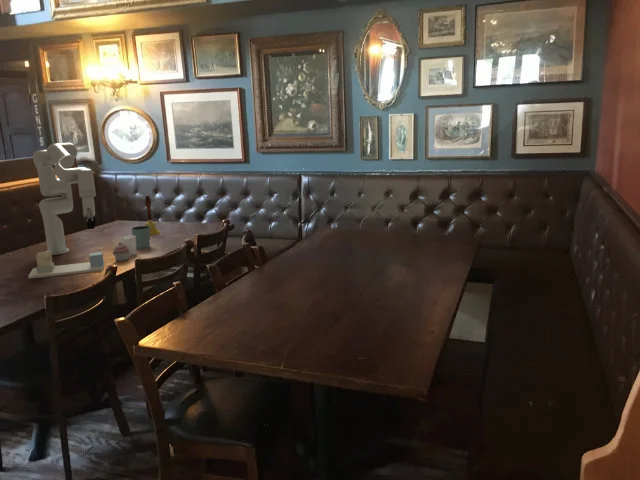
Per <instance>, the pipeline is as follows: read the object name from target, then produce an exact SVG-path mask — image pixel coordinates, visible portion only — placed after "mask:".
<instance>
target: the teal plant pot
mask: <svg viewBox="0 0 640 480" xmlns="http://www.w3.org/2000/svg"><path fill="white" fill-rule="evenodd" d="M131 233H132V235H133V236H136V250H144V249H149V248H150V247H151V241H150V240H151V238H150V237H151V235H150V227H149V226H145V225H137V226H133V227H131ZM149 235H150V236H149Z"/></svg>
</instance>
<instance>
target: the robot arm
mask: <svg viewBox="0 0 640 480" xmlns="http://www.w3.org/2000/svg"><path fill="white" fill-rule="evenodd" d="M77 155H78V149H77V147H76V145H74V143H71V142H61V143H59V142H57V143H52V144H49V146H48V147H46V149H41V150H40V149H39V150H37V151H34V152H33V155H32V156H33V157H32V158H33V159H32V160H33V163H34V164H33V165H34V166H35V168H36V170H37V176H38V181H39V183H38V184H39V190H40V193H41V195H42V196H44V197H49V198H44V199H42V200H40V201H39V204H38V206H39V210H40V214H41V217H42V222H43V227H44V234H45V241H46V246H47V250H46V251H45V252H48V251H51V255H52V256H57V255H63V254H67V253H69V252H70V248H68V247H66V240H65V232H64V224H63V221H62V219H61V218H60V217H59V216H58V215H60V214H68V213H70V212H72V211H73V210H74V201H73V191H72V185H71V184H77V185H78V193H79V198H81V204H82V213H83V217H84V218H86V225H87V226H86V227H87V229H88V230H95V226H96V225H97V224H96V223H97V222H96V216H95V215H96V207H95V199H94V197H96V196H97V193H96V185H95V177H94V171H93V169H91V168H87V167H73V166H74V163H75V158H77ZM53 166H54V168H53ZM56 177H57V178H56ZM52 196H53V197H52ZM57 196H58V197H57Z"/></svg>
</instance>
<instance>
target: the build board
mask: <svg viewBox="0 0 640 480" xmlns="http://www.w3.org/2000/svg"><path fill="white" fill-rule="evenodd" d="M52 262H53V261H52ZM104 267H105V263H104V264H103V266H97V267H91V266H90V261H89V262H78V263H70V264H62V265H61V264H60V265H55V262H53V263H52V265H51V266H43V267H38V265H37V266H36V267H33V268H32V270H31V271H30V273H29V274H28V277H27V279H36V278H48V277H54V276H55V277H56V276H66V275H73V274H83V273H92V272H101V271H102V272H103V271H104Z"/></svg>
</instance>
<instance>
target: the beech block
mask: <svg viewBox="0 0 640 480" xmlns="http://www.w3.org/2000/svg"><path fill="white" fill-rule="evenodd" d="M35 258H36V263H37V266H38V267H43V266H51V265H52V263H53V255H51V251H48V252H46V251H40V252H39V251H38V252H37V253H36V255H35Z"/></svg>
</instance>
